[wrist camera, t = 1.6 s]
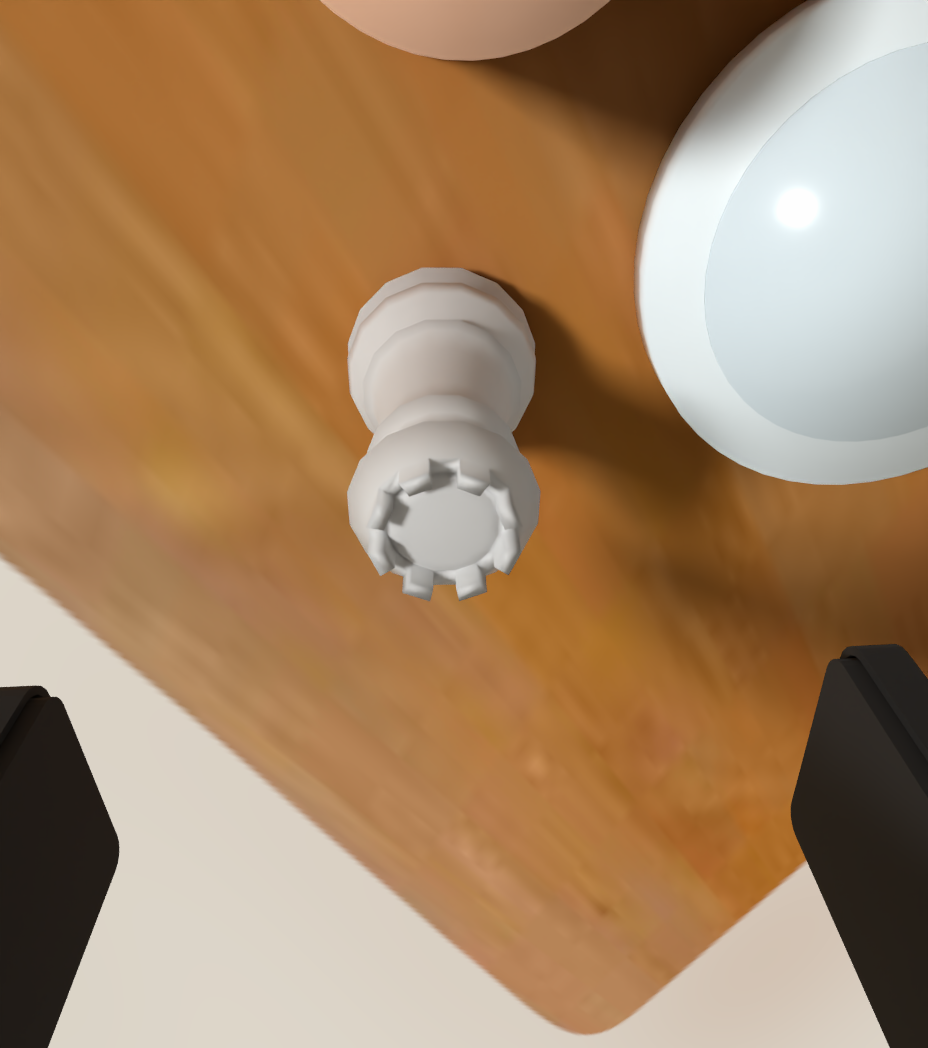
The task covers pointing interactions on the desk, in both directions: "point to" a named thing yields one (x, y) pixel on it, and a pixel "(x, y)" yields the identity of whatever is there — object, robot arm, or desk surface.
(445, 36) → the peach dome knob
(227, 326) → the desk surface
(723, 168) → the dish
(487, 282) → the rook chess piece
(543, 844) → the desk surface
